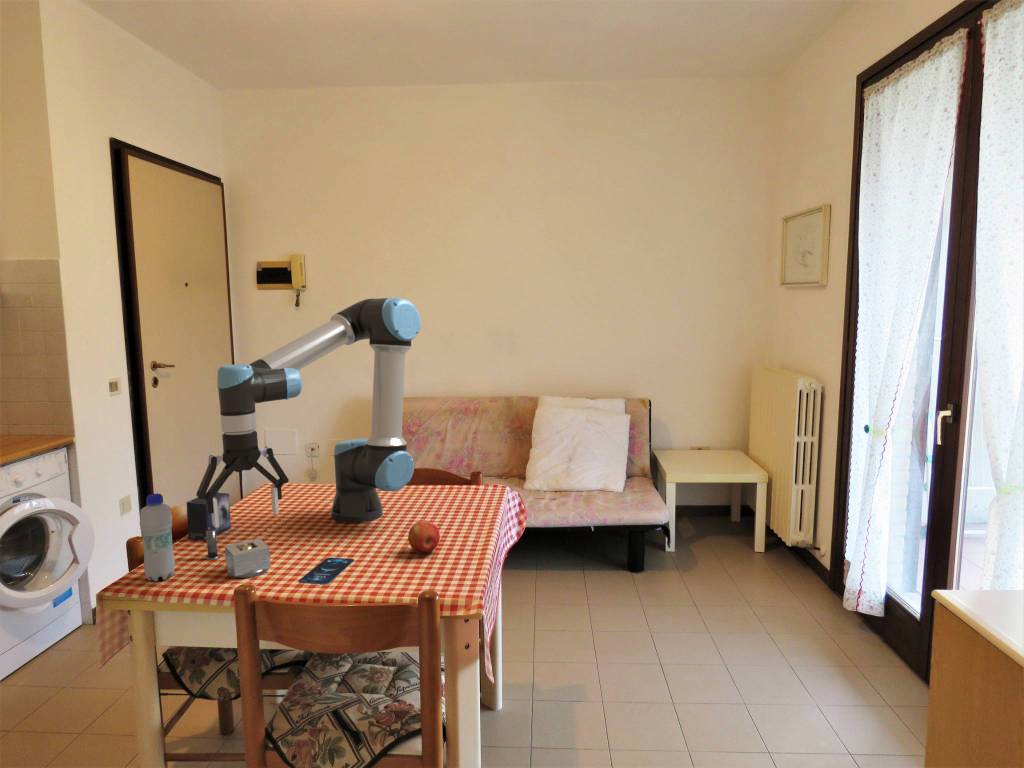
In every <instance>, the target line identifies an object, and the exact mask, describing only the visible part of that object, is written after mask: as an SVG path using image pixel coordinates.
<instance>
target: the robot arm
mask: <svg viewBox="0 0 1024 768" xmlns="http://www.w3.org/2000/svg"><path fill="white" fill-rule="evenodd" d="M421 322H422V321H421V316H420V313H419V311H418V309H417V307H416V306H415V304H413V302H411V301H410V300H408V299H406V298H399V297H389V298H388V297H386V298H385V297H384V298H383V297H382V298H366V299H363V300H361V301H357V302H356V303H354V304H352V305H349V306H348V307H346V308H344V309H342V310H340V311H338V312H336V313H335V314H332V316H331V317H330V319H329V321H328V322H326V323H324V324H322V325H320V326H319V327H317V328H314V329H313V330H310V331H309V332H308V333H305V334H303V335H302V336H300V337H298V338H296V339H294V340H292V341H290V342H288V343H287V344H285V345H282V346H281V347H279V348H278V349H277V348H276V349H275V350H274V351H272V352H270V353H267V355H264V356H262V357H260V358H259V359H257V360H255V361H253V362H251V363H249V364H246V363H241V364H240V363H239V364H238V363H237V364H227V365H222V366H220V367H219V368H218V369H217V376H216V378H217V386H216V387H217V391H218V399H219V412H220V414H219V415H220V423H221V426H220V427H221V431H222V432H223V434H222V435H221V437H222V438H221V439H222V448H223V449H222V450H223V451H222V455H213V454H210V455H209V456H208V465H207V468H206V469H205V472H204V475H203V476H202V480H201V482H200V483H199V484H200V485H199V486H198V489H197V492H196V494H195V496H196V498H199V499H205V500H206V508H207V512H208V513H209V514H211V513H212V521H213V525H214V527H215V528H218V527H219V519H218V507H217V499H216V498H214V496H215V495H216V494H217V493H219V491H220V490H221V488H222V487H223V485H224V484H225V482H226V481H227V480H228V478H229V477H230V476H231V475H233V473H234V472H235V473H240V472H243V471H251V470H252V469H253V468H255V469H256V471H258V472H259V473H260V474H261V475H263V476H264V477H265V478H266V479H267V480H268V481H269V482H270V483H272V484H273V485H270V495H271V509H272V513H273V514H274V515H277V516H278V515H280V511H279V510H280V508H279V500H282V498H283V495H282V494H283V493H282V488H283V485H285V484H288V483H289V481H290V480H289V478H288V476H287V475H286V473H285V472H284V470H283V468H282V467H281V466H280V463H279V462H278V461H277V459H276V457H275V454H274V449H272V447H270V446H265V447H264V448H262V449H260V448H259V442H258V439H259V438H258V432H257V430H256V429H257V416H256V404H261V403H267V402H274V401H281V400H282V401H283V400H289V399H293V398H297V397H298V396H300V394H302V393H301V392H302V389H303V380H302V377H301V374H300V373H299V371H300V370H302V369H304V368H306V367H307V366H309V365H310V364H312V363H314V362H316V361H318V360H319V359H320V358H322V357H324V356H326V355H328V354H329V353H331V352H333V351H335V350H337V349H339V348H341V347H342V346H343V345H345V346H350V345H352V344H354V343H356V342H359V341H362V340H363V341H364V340H369V343H368V345H369V347H370V348H371V349H372V350H373V351H374V356H373V357H374V359H373V378H372V379H373V381H372V382H373V383H372V405H371V406H372V407H371V430H370V431H371V432H370V437H365V438H364V437H363V438H353V439H348V440H343V441H339V442H337V443H336V444H335V445H334V449H333V450H334V453H333V458H334V472H335V495H334V498H333V502H332V505H331V508H330V516H331V517H330V519H331V520H333V521H334V522H336V523H342V524H360V523H366V522H371V521H374V520H377V519H379V518H381V517H382V515H383V514H384V511H383V509H384V508H383V504H382V502H381V498H380V496H379V494H378V491H377V490H379V491H382V492H390V493H391V492H398V491H400V490H402V489H404V488H405V487H406V486H407V484H408V483H409V482H410V481H411V479H412V477H413V475H414V471H415V462H414V458H413V457H412V455H411V454H410V453H409V452H408V451H407V446H408V445H407V444H408V443H407V441H406V439H404V438H403V417H404V415H403V414H404V412H403V411H404V396H405V395H404V392H405V373H406V372H405V371H406V370H405V368H406V354H407V352H408V351H409V350H410V349H411V348H412V340H414V339H416V338H417V335H418V334H419V332H420V330H421V325H422V324H421ZM261 456H263V457H264V458H266V460H267V461H268V463H269V464H270V466H271V468H272V469H273V470H274V472H275V473H276V475H277V477H278V478H276V477H275V476H274V475H273V474H272V473H271V472H269V471H268V470H267V469H266V468H265V467H263V466H262V464H260V462H258V460H259V459H260V457H261ZM221 462H223V463H224V464H225V466H224V467H223V468H222V470H221V472H220V474H219V475H218V477H216V479H215V480H214V482H213V483H212V480H213V478H214V475H215V472H216V470H217V467H218V466H219V465H220V464H221ZM211 483H212V485H211ZM210 485H211V486H210Z"/></svg>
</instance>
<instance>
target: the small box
mask: <svg viewBox="0 0 1024 768" xmlns="http://www.w3.org/2000/svg"><path fill="white" fill-rule="evenodd" d="M214 498H216V499H217V507H218V519H219V527H218V528H215V527H214V525H213V521H212V513H211V514H209V513H208V512H207V508H206V500H205V499H199V498H198V497H196V498H194V499H191V500H189V501H186V502H185V503H186V518H187V520H186V521H187V539H188V540H198V541H207V536H206V531H207V530H210V529H215V530H216V537H217V536H218V535H220V534H223V533H224V532H227V531H228V530H230V529H232V527H231V525H232V522H231V507H230V506H231V505H230V504H231V503H230V502H231V501H230V493H227V492H226V493H225V492H217V494H216V495H215V496H214Z"/></svg>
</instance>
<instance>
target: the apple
mask: <svg viewBox="0 0 1024 768" xmlns="http://www.w3.org/2000/svg"><path fill="white" fill-rule="evenodd" d="M407 536H408V537H407V538H408V539H407V540H408V544H409V545H410V547H411V548H412V550H413V551H414V552H416V553H418V554H421V555H424V554H429V553H431V552H432V551H434V550H435V549H436V548H437V547H438V545H439V544H440V540H441V535H440V531H439V529H438V527H437V526H436V524H435V523H433V522H431V521H429V520H425V519H424V520H423V519H421V520H418V521H417V522H415V523H413V524H412V526H411V527H410V528H409V531H408V535H407Z"/></svg>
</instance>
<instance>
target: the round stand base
mask: <svg viewBox="0 0 1024 768" xmlns="http://www.w3.org/2000/svg"><path fill="white" fill-rule="evenodd" d="M251 548H252V545H244V546H242V550H247V549H251ZM268 570H269V568H268V569H263V570H259V571H255V572H251V573H247V574H243V575H239V576H234V575H233V573H232V572H231V571H230V570H229V569H228V568H227V576H228V577H230V578H232V579H233V578H234V579H237V580H238V579H243V580H244V579H248V578H254V577H258V576H260V575H263V574H265V573H266V572H267V571H268Z"/></svg>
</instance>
